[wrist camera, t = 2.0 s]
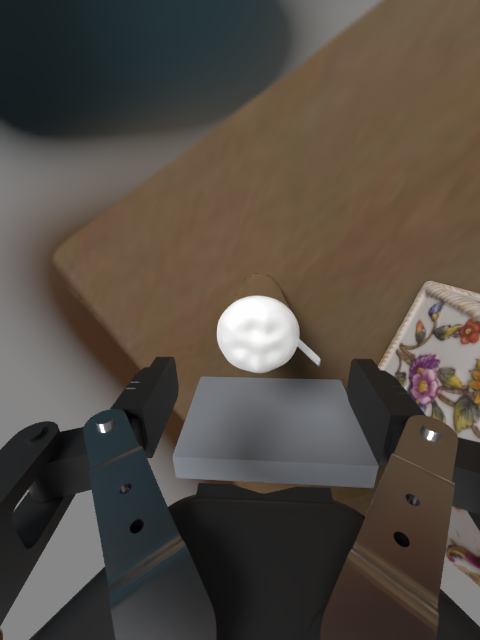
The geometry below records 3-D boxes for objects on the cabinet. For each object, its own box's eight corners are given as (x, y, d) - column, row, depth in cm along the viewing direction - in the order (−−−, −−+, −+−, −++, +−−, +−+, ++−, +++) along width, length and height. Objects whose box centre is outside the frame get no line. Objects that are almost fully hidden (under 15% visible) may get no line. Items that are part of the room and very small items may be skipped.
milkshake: (291, 323, 23) (309, 400, 14) (228, 313, 23) (206, 384, 14) (302, 270, 22) (332, 320, 12) (235, 260, 22) (215, 302, 12)
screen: (340, 379, 25) (378, 465, 17) (338, 397, 26) (373, 488, 18) (200, 376, 26) (172, 456, 18) (202, 393, 27) (176, 477, 19)
